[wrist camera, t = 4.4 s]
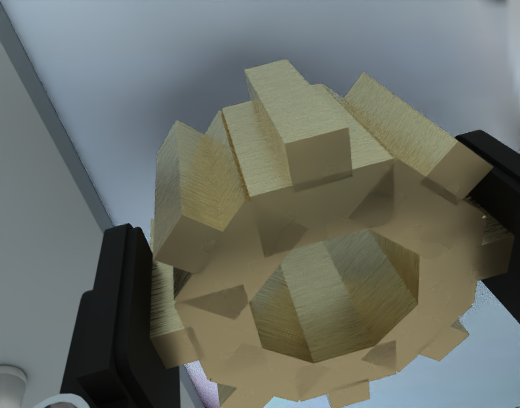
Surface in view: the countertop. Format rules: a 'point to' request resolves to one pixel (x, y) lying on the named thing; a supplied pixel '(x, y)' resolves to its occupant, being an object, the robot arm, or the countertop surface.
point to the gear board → (43, 236)
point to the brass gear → (315, 241)
